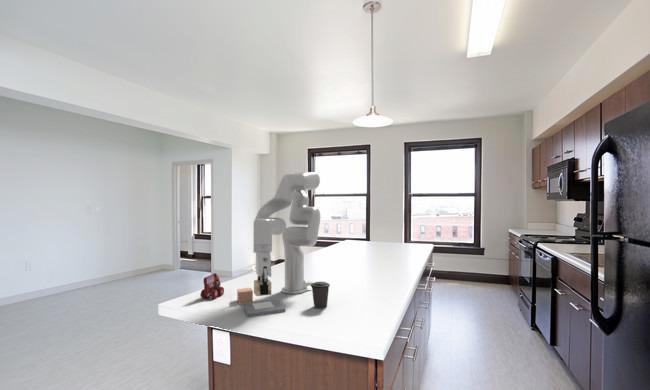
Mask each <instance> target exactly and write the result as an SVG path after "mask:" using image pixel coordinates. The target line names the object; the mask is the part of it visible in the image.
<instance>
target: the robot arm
mask: <svg viewBox="0 0 650 390" xmlns="http://www.w3.org/2000/svg"><path fill="white" fill-rule="evenodd" d="M320 183H321V178H320V175H319V173H317V172H315V171H310V172H309V171H308V172H293V173H288V174H284V175H283V176H282V177H281V180H280V183H278V188H277V189H276V191H275V194H274V196H273V197H272V198H271V199H269V200H268V201H267V202H265V204H263V205H262V206H261V207H260V208H259V210H258V212H257V213H256V216H255V219H254V220H253V246H252V247H253V251H252V252H253V253H255V274H256V275H257V277H256V278H257V279H256V280H261V285H260V295H264V296H266V295H265V294H268V280H269V278H271V277H272V259H271V258H272V257H271V253H272V251H273V236H279V235H282V236H281V237H282V243H283V249H284V286H283V287H281V292H282V293H285V294H290V295H293V294H294V295H296V294H303V293H307V291H308V286H310V287H311V284H312V283H314V281H313V280H312V281H309V280H308V281H306V280H305V254H304V251H303V250H302V248H301V247H310V248H311V247H314V246H315V245H316V244H317V241H318V238H319V237H318V236H319V232H320V224H321V211H320V209H319V208H317V207H316V206H309V204H310V198H309V195H308V194H307V193H306V191H312V190H315V189H318V187H319V186H320ZM290 206H291V207H290ZM289 207H290V208H291V209H290V213H289V218H288V221H289V223H290V224H292V225H293V226H288V227H287V223H286V221H285V220H284V219H283V218H280V217H272V215H273V214H275V213H277V212H279V211H283V210H284V209H286V208H289Z"/></svg>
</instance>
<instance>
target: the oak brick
mask: <svg viewBox="0 0 650 390" xmlns="http://www.w3.org/2000/svg"><path fill="white" fill-rule="evenodd" d="M260 285H261V280H257V279H256V280H253V294H254V295H255V296H256V297H261V296H262V297H263V296H271V295H272V281H271V280H270V279H268V294H265V295H260Z"/></svg>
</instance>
